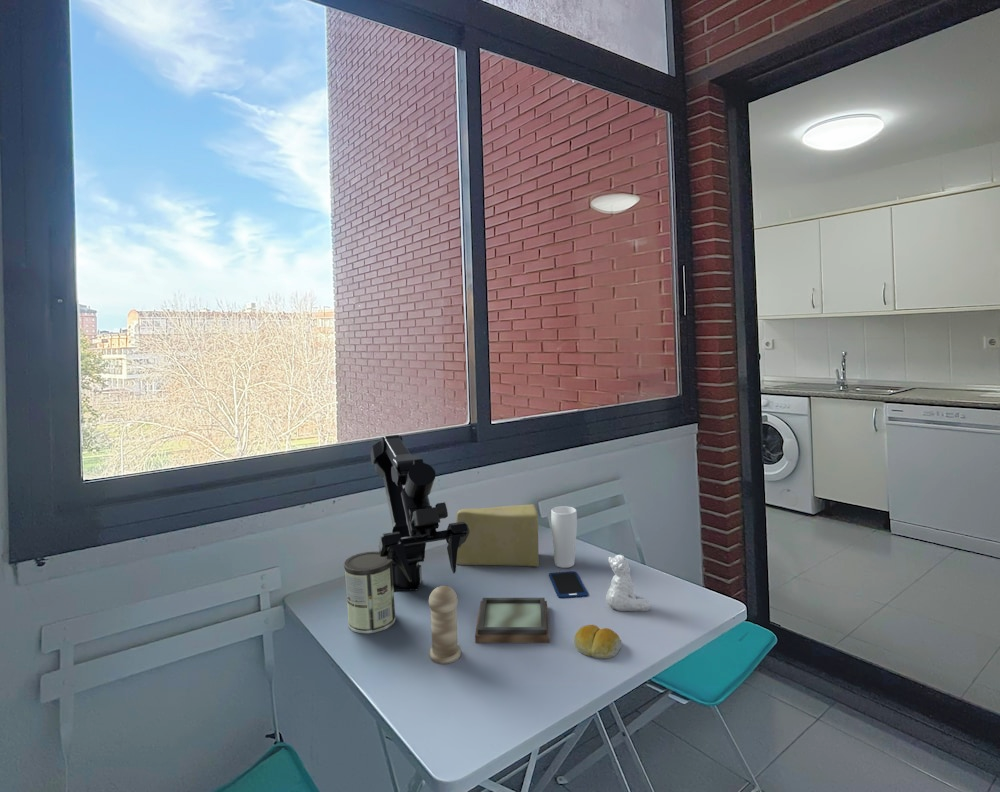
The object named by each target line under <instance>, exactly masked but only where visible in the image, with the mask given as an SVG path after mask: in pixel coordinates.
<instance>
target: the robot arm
mask: <svg viewBox="0 0 1000 792" xmlns="http://www.w3.org/2000/svg"><path fill="white" fill-rule="evenodd" d="M371 462H372V463H371ZM370 463H371V465H374V464H375V467H374V471H375V473H376V474H377V475H378V476H379V477H380V478H381V479H382V480H383V485H384V490H385V495H386V501H387V505H388V511H389V515H390V520H391V524H392V528H391V529H392V530H391V532H386V533H385V532H384V533H382V534H381V536H380V538H379V544H378V552H380V556H381V557H385V556H387V559H392V560H393V562H392V570H393V588H394V591H418V589H419V587H420V585H421V584H422V581H423V574H422V573H423V572H422V565H421V564H420V563H421V562H422V563H423V562H424V561H425V554H426V546H427V543H431V542H433V543H434V542H438V541H444V540H446V544H448V545H447V547H446V550H447V554H448V555H447V556H448V560H449V566H450V570H451V571H452V574H453V575H454V574H456V571H457V564H456V561H457V551H458V548H459V547H461V544H463V543H465V541H466V539H467V537H468V535H469V532H470V531H469V527H468V525H467V524H466V523H465V522H457V523H456V522H451V523H448V526H447V528H446V529H443V530H438V531H437V529H439V527H440V524H441V520H442V519H446V518H447V517H448V515H449V514H448V513H449V512H448V508H447V505H446V504H447V503H446V502H438V503H436V504H435V505H434V507H433V506H432V505H431V501H430V500H429V499H430V498H429V495H430V494H431V492H432V489H433V486H434V483H435V479H436V470H435V469H434V468H433V467H432V465H429V464H428V463H426V462H424V459H423V458H421V457H420V456H419V455H414V454H411V453H410V451H409V449H408V448H407V447H406V445H405V444H404V440H403V437H402V435H399V434H392V435H384V436H382V437H380V440H379V441H378V442H376V443H375V444H373V445H372V446H371V450H370ZM403 486H404V487H403ZM439 523H440V524H439Z"/></svg>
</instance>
